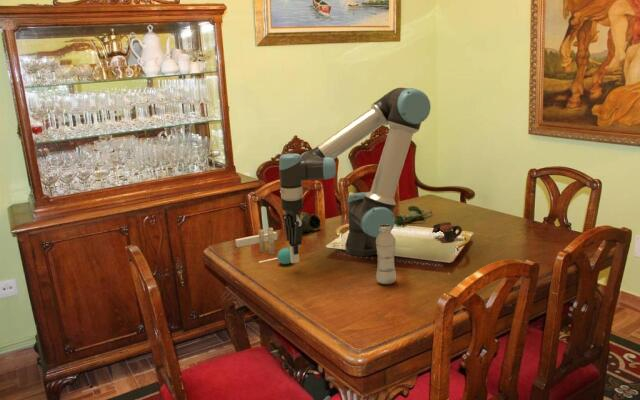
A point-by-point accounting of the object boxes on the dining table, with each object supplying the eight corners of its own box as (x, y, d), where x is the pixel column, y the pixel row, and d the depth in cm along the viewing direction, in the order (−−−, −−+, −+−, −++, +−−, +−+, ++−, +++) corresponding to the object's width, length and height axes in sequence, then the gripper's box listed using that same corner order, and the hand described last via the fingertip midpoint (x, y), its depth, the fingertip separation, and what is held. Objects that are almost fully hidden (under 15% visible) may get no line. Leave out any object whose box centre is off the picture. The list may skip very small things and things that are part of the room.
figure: (413, 214, 270) (381, 226, 253) (412, 199, 269) (380, 211, 252) (442, 216, 259) (411, 230, 242) (441, 201, 258) (410, 214, 240)
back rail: (275, 238, 241) (275, 231, 241) (277, 239, 240) (276, 232, 239) (235, 246, 234) (235, 239, 233) (237, 247, 232) (236, 240, 231)
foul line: (296, 253, 220) (296, 253, 220) (297, 254, 219) (297, 254, 219) (258, 262, 213) (258, 261, 213) (259, 263, 212) (259, 262, 212)
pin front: (275, 253, 222) (273, 231, 220) (272, 254, 221) (270, 232, 219) (271, 252, 224) (270, 230, 221) (268, 253, 222) (266, 232, 220)
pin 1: (266, 251, 225) (264, 229, 223) (263, 252, 224) (261, 231, 222) (262, 250, 227) (261, 229, 224) (259, 251, 225) (257, 230, 223)
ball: (297, 262, 211) (296, 247, 209) (287, 267, 206) (286, 252, 204) (285, 260, 214) (283, 245, 213) (274, 264, 209) (273, 249, 208)
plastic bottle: (374, 280, 190) (372, 223, 185) (394, 278, 190) (393, 222, 186) (378, 287, 184) (376, 229, 179) (398, 285, 184) (397, 227, 179)
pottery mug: (433, 244, 224) (429, 224, 226) (437, 247, 233) (433, 228, 235) (463, 238, 221) (458, 218, 223) (466, 241, 229) (461, 222, 231)
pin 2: (275, 249, 227) (274, 227, 225) (272, 250, 226) (270, 229, 224) (271, 248, 228) (270, 227, 226) (268, 249, 227) (267, 228, 225)
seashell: (316, 236, 241) (315, 214, 238) (291, 236, 243) (289, 214, 241) (321, 229, 251) (320, 207, 249) (297, 229, 253) (295, 207, 251)
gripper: (274, 196, 199) (278, 258, 205) (289, 203, 188) (293, 269, 194) (293, 193, 202) (296, 254, 208) (309, 200, 191) (312, 265, 197)
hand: (295, 261), depth 201 cm, fingers closed
